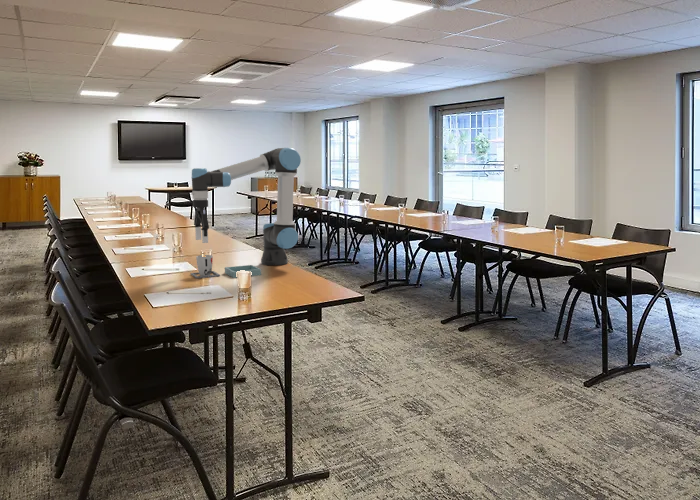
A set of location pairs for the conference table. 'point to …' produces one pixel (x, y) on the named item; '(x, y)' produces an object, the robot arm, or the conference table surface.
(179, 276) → the conference table surface
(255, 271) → the bin
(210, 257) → the cup
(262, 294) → the conference table surface
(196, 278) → the grey flat square frame
